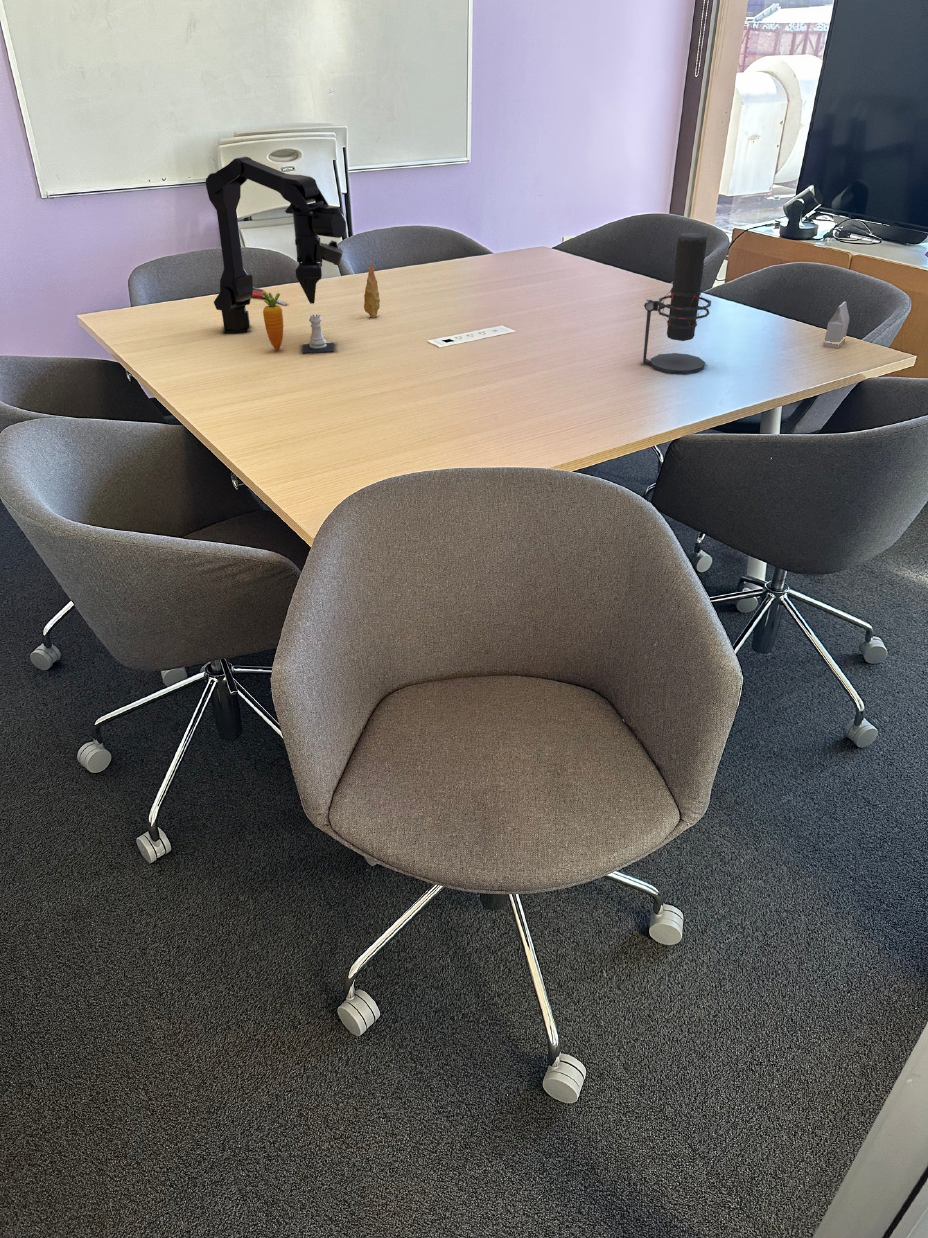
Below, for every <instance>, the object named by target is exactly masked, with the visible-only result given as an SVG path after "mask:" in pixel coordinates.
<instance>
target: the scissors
mask: <svg viewBox="0 0 928 1238" xmlns="http://www.w3.org/2000/svg"><path fill="white" fill-rule="evenodd" d="M265 291H266V290H265V289H263V288H259V287H254V290H253V294H252V296H251V298H257V299H261V300H267V299H266V298H265V296H264V295H263V292H265ZM269 297H270V296H269ZM273 298H274V300H275V297H273ZM270 299H271V298H270ZM276 304H280V305H281V306H282V305H283V306H287V303H285V302H284V301H282V300H280V299H278V300H277V302H276Z"/></svg>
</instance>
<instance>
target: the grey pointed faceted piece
mask: <svg viewBox="0 0 928 1238" xmlns="http://www.w3.org/2000/svg"><path fill="white" fill-rule="evenodd" d="M850 319H851V318H850V314H849V311H848V305H847V301H843V302H842V303H841V304H840V305H839V306H838V307H837V309H836V311H835V312H834V314H833V316H832V317H831V318H830V320H829V321H828V323H827V326H826V331H825V332H826V333H825V335H824V340H825V341H830V342H840V341H841V340H842V339H843V337H847V332H848V329H849V324H850ZM845 342H846V338H845V339H844V340H843V341H842V342H841V343H840V344H839V345H838V344H832V343H825V342H824V341H823V347H826V348H832V349H839V348H840V347H841V346H843V344H844V343H845Z"/></svg>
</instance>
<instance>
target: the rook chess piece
mask: <svg viewBox="0 0 928 1238" xmlns="http://www.w3.org/2000/svg"><path fill="white" fill-rule="evenodd" d="M322 320H323V319H322V317H321V314H312V315H310V316H309V319H308V321H309V322H310V327H311V334H310V335H311V336H310V340H309V343H308V344H310V345H309V346H310V348H312V349H323V348H325V347H326V344H325V343H327V341H326V339H325V336H324V335H323V332H322V324H321V322H322Z"/></svg>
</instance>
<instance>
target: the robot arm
mask: <svg viewBox="0 0 928 1238" xmlns="http://www.w3.org/2000/svg"><path fill="white" fill-rule="evenodd" d="M248 180H249V181H251V182H254V183H256V184H259V185H261V186H264V187H266V188H268V189H271V190H273V191H275V192H277V193H278V194H280V195H281V197H282V199H284V200H285V201H287V202H288V203H290V204H289V206H287V208H286V209H285V213H286V214H291V215H292V220H293V228H294V229H293V230H294V245H295V249H296V262H297V264H296V267H295V278H296V279H297V281H298V283H299V285H300V287H301V289H302V290H303V292H304V295H305V296H306V298H307V300H308V302H309V304H311V305H314V304H315V300H316V289H317V283H318V282H319V281H321V279H322V277H323V272H322V271H323V270H322V267H323V261H326V262H328V263H331V264H333V265H335V266H338V267H339V266H340V265H341V261H342V258H343V257H342V256H343V253H344V252H343V249H342V248H341V247H339V245H338V242H337V241H335V240H330V241H329V243H324V242H321V237H326V238H327V237H328V238H335V239H341V238H342V237H343V236H344V235H345V233H346V229H347V221H346V218H345V216H344V215H343V213H341V211H340V207H339V206H330V205H329V203H328V201H327V200H326V198H325V196H324V195H323V193H322V191H321V189H320V188H319V186H318V184H317V181H316V179H315V178H314V177H312V176H309V175H303V174H292V173H291V174H289V173H285V172H284V171H280V170H278V169H276V168H273V167H271V166H269V165H266V164H263V163H261V162H258V161H256V160H254V159H252V158H251V157H248V156H240V157H235V158H233V160H231V161H230V162H229V163H228V164H226V165H225V166H223V167H222V168H220V169H218V170H217V171H216V172H211V173H209V174H208V175H207V177H206V178H205V189H206V193H207V195H208V199H209V201H210V203H211V204H212V206H213V207H214V209H215V210H216V217H217V224H218V232H219V240H220V247H221V255H222V261H223V263H222V264H223V269H222V270H223V271H222V274H221V275H220V276H221V277H220V279H219V293H218V294H217V296H216V297H215V298H214V301H213V304H214V307H215V309H216V311H220V312H221V316H222V323H223V333H224V334H238V333H241V334H242V333H249V330H250V328H251V319H250V314H249V310H247V308H246V307H247V306H249V305H250V304H251V300H252V297H251V296H252V294H253V290H254V288H255V286H254V282H253V281H254V280H253V279H254V278H253V275H252V274H251V273H250V274H248V273H247V271H246V270H245V268H244V264H243V255H242V248H241V247H242V246H241V237H240V229H239V221H238V212H237V209H238V206H239V203H240V200H241V196H242V195H241V194H242V193H241V190H242V189H241V188H242V187H241V186H243V185H244V183H246V182H247V181H248ZM320 236H321V237H320Z"/></svg>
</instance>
